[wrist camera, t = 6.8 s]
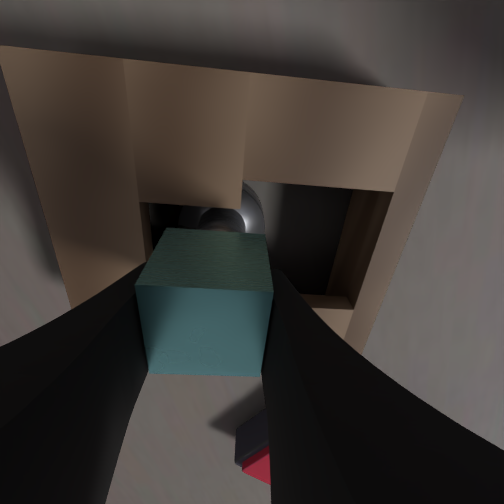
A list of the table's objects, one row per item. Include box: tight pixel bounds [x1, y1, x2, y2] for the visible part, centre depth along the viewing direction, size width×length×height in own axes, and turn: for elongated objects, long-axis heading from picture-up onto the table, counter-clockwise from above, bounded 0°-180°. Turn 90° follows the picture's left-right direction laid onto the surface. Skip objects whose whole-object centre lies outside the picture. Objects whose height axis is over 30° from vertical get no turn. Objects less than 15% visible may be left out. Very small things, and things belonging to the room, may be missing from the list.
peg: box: [135, 182, 274, 377], centre depth 11 cm, size 4×4×8 cm
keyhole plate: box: [0, 45, 464, 355], centre depth 13 cm, size 14×12×4 cm
